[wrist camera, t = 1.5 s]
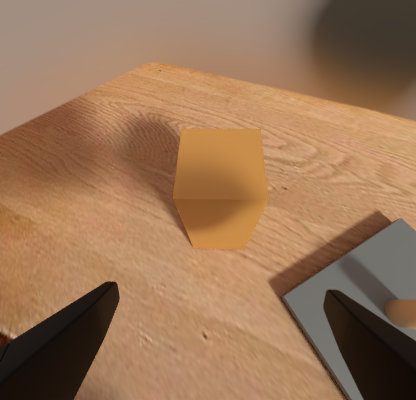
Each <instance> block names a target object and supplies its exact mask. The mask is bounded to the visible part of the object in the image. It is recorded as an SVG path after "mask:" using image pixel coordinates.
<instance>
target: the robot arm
mask: <svg viewBox="0 0 416 400" xmlns="http://www.w3.org/2000/svg"><path fill="white" fill-rule="evenodd" d="M118 303H119V291H118V285H117V283H116V282H111V281H108V282H105V283H103V284H102V285H100V286H99V287H97V288H95V289H94V290H92V291H91V292H89V293H87V294H86V295H84V296H83V297H81V298H79V299H78V300H76V301H75V302H73V303H71V304H70V305H68V306H66V307H65V308H63V309H62V310H60V311H58V312H57V313H55V314H54V315H52V316H50V317H49V318H47V319H46V320H44V321H42V322H41V323H39V324H38V325H36V326H34V327H33V328H31V329H30V330H28V331H26V332H25V333H23V334H22V335H20V336H18V337H17V338H15V339H13V340H12V341H11V342H10V343H7V344H5V345H4V346H2V347H1V348H0V400H74V398H75V396H76V394H77V392H78V390H79V388H80V386H81V384H82V382H83V380H84V378H85V376H86V374H87V372H88V370H89V368H90V366H91V364H92V362H93V360H94V358H95V356H96V354H97V352H98V350H99V348H100V346H101V344H102V342H103V340H104V338H105V336H106V333H107V331H108V328H109V326H110V323H111V321H112V318H113V316H114V313H115V310H116V308H117V305H118ZM323 309H324V312H325V315H326V317H327V320H328V323H329V325H330V328H331V330H332V333H333V336H334V338H335V341H336V343H337V346H338V348H339V351H340V353H341V355H342V357H343V359H344V361H345V363H346V365H347V367H348V369H349V371H350V373H351V376H352V378H353V380H354V382H355V384H356V386H357V388H358V390H359V392H360V394H361V396H362V398H363V400H416V341H415V340H414V339H412V338H411V337H409V336H408V335H406V334H405V333H403V332H402V331H400V330H399V329H397V328H396V327H394V326H392V325H391V324H389V323H388V322H386V321H385V320H383V319H382V318H380V317H379V316H377V315H376V314H374V313H373V312H371V311H370V310H368V309H367V308H365V307H364V306H362V305H361V304H359V303H358V302H356V301H354V300H353V299H351V298H350V297H348V296H347V295H345V294H344V293H342V292H341V291H339V290H335V289H328V290H327V291H326V294H325V299H324V303H323Z"/></svg>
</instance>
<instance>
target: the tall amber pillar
mask: <svg viewBox="0 0 416 400" xmlns="http://www.w3.org/2000/svg"><path fill="white" fill-rule="evenodd" d="M172 199H173V202H174V204H175V206H176V208H177V211H178V213H179V215H180V218H181V220H182V222H183V225H184V227H185V229H186V232H187V234H188V236H189V238H190V241H191V243H192V245H193V248H202V249H240V250H244V249H245V247H246V245H247V243H248V241H249V239H250V237H251V235H252V233H253V231H254V229H255V227H256V225H257V223H258V221H259V219H260V217H261V215H262V213H263V211H264V209H265V207H266V205H267V203H268V201H269V197H268V189H267V180H266V171H265V162H264V153H263V145H262V136H261V129H181V137H180V144H179V152H178V159H177V167H176V174H175V182H174V190H173V197H172Z"/></svg>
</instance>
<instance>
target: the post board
mask: <svg viewBox="0 0 416 400" xmlns="http://www.w3.org/2000/svg"><path fill="white" fill-rule="evenodd" d="M328 289H335V290H339V291H341V292H342V293H344V294H345V295H347V296H348V297H350V298H351V299H353V300H354V301H356V302H358V303H359V304H361V305H362V306H364V307H365V308H367V309H368V310H370V311H371V312H373V313H374V314H376V315H377V316H379V317H380V318H382V319H383V320H385V321H386V322H388V323H389V324H391V325H392V326H394V327H396V328H397V329H399V330H400V331H402V332H403V333H405V334H406V335H408V336H409V337H411V338H412V339H414V340H415V341H416V231H415V230H414V229H412V228H411V227H410V226H409V225H408V224H407V223H406V222H405V221H404V220H403V219H402V218H400V219H398V220H396V221H394V222H392V223H391V224H389V225H388V226H386V227H385V228H383V229H382V230H380V231H379V232H377V233H376V234H374V235H373V236H371V237H370V238H368V239H367V240H365V241H364V242H362V243H361V244H359V245H358V246H356V247H355V248H353V249H352V250H350V251H349V252H347V253H346V254H344V255H343V256H341V257H340V258H338V259H337V260H335V261H334V262H332V263H331V264H329V265H328V266H326V267H325V268H323V269H322V270H320V271H319V272H317V273H316V274H314V275H313V276H311V277H310V278H308V279H306V280H305V281H303V282H302V283H300V284H299V285H297V286H296V287H294V288H293V289H291V290H290V291H288V292H287V293H285V294H284V295H282V296H281V298H282V299H283V301H284V303H285V304H286V306H287V307H288V309H289V310H290V312H291V313H292V315H293V316H294V318H295V319H296V321H297V322H298V324H299V325H300V327H301V329H302V330H303V332H304V333H305V335H306V336H307V338H308V339H309V341H310V342H311V344H312V345H313V347H314V348H315V350H316V351H317V353H318V355H319V356H320V358H321V359H322V361H323V362H324V364H325V365H326V367H327V368H328V370H329V371H330V373H331V374H332V376H333V377H334V379H335V381H336V382H337V384H338V385H339V387H340V388H341V390H342V391H343V393H344V394H345V396H346V397H347V399H348V400H363V398H362V396H361V394H360V392H359V390H358V388H357V386H356V384H355V382H354V380H353V378H352V376H351V373H350V371H349V369H348V367H347V365H346V363H345V361H344V359H343V357H342V355H341V353H340V351H339V348H338V346H337V343H336V341H335V338H334V336H333V333H332V330H331V328H330V325H329V323H328V320H327V317H326V315H325V312H324V309H323V303H324V299H325V294H326V291H327V290H328Z"/></svg>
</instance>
